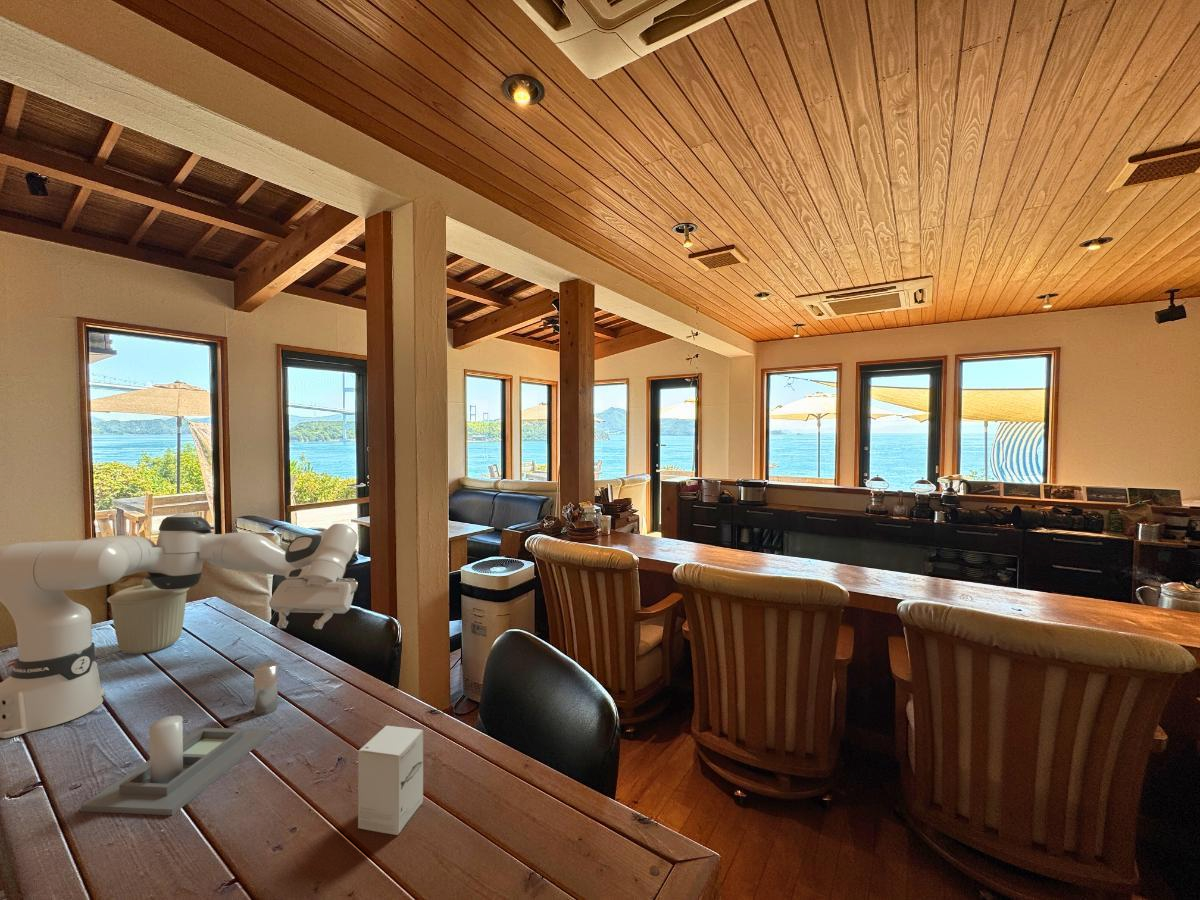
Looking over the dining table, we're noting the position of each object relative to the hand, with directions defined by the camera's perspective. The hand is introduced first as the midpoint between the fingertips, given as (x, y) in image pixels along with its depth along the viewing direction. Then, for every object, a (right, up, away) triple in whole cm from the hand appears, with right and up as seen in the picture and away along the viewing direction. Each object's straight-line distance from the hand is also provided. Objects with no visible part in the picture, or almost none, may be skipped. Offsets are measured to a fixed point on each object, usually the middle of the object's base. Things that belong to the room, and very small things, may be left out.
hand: (298, 627), depth 122 cm
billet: (-1, -15, -11) cm, 18 cm away
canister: (-59, -15, +24) cm, 65 cm away
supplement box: (+42, -16, -42) cm, 61 cm away
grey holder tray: (-2, -15, -31) cm, 34 cm away
